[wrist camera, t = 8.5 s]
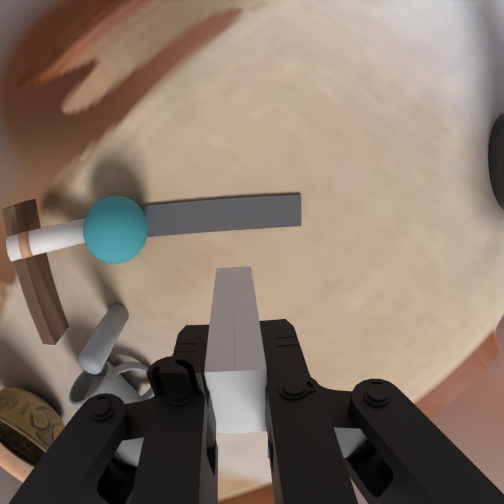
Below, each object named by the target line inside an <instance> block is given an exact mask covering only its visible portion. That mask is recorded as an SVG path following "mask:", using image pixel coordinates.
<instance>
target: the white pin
mask: <svg viewBox="0 0 504 504" xmlns="http://www.w3.org/2000/svg"><path fill="white" fill-rule="evenodd" d="M84 219H85V218H82V219H78V220H73V221H69V222H65V223H60V224H56V225H52V226H48V227H44V228H40V229H36V230H32V231H26V232H22V233H19V234H16V235H13V236H9V237H7V239H6V246H7V252H8V256H9V258H10V260H11V261H15V260H18V259H22V258H23V259H24V258H28V257H32V256H34V255H37V254H41V253H45V252H49V251H53V250H57V249H61V248H66V247H70V246H74V245H78V244H82V243H85V241H84V237H83V224H84Z"/></svg>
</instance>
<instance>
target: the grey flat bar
mask: <svg viewBox="0 0 504 504" xmlns="http://www.w3.org/2000/svg"><path fill="white" fill-rule="evenodd" d="M140 207H141V209H142V210H143V212H144V214H145V216H146V219H147V224H148V233H147V237H151V236H163V235H175V234H188V233H200V232H214V231H228V230H243V229H258V228H274V227H291V226H301V195H300V194H299V195H275V196H256V197H239V198H224V199H211V200H199V201H187V202H176V203H166V204H156V205H147V206H140Z"/></svg>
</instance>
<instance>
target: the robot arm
mask: <svg viewBox="0 0 504 504" xmlns="http://www.w3.org/2000/svg"><path fill="white" fill-rule="evenodd" d="M489 168H490V177H491V183H492V187H493V191H494V194H495V196H496V199H497V201H498V203H499V204H500V206H501V207H502V208H503V209H504V114H502V115H501V116H500V117H499V118H498V119H497V121H496V123H495V125H494V127H493V130H492V134H491V139H490V147H489ZM146 373H147V376H148V379H149V382H150V385H151V387H152V390H153V393H154V397H152V398H150V399H147V400H144V401H139V402H134V403H128V404H125V403H124V402H123V401H122V399H121V398H120V397H118V396H116V395H114V394H108V393H103V394H97V395H95V396H93V397H90V398H89V399H88V400H87V401H86V402H84V403H83V405H82V406H81V407H80V408H79V410H78V411H77V412H76V413H75V415H74V416H73V417H72V419H71V420H70V421H69V422H68V424H67V425H66V426H65V428H64V429H63V430H62V431H61V433H60V434H59V435H58V437H57V438H56V439H55V441H54V442H53V443H52V445H51V446H50V447H49V449H48V450H47V451H46V453H45V454H44V455H43V457H42V458H41V459H40V461H39V462H38V463H37V465H36V466H35V467H34V469H33V470H32V471H31V473H30V474H29V476H28V477H27V478H26V480H25V481H24V483H23V484H22V485H21V487H20V488H19V490H18V491H17V492H16V494H15V495H14V497H13V498H12V500H11V501H10V503H9V504H218V447H217V443H216V430H217V434H221V433H247V432H262V431H267V434H268V458H269V459H270V467H271V475H272V483H273V491H274V499H275V504H358V502H357V498H356V495H355V493H354V489H353V486H352V483H351V479H352V481H353V482H354V483H355V485H356V486H357V488H358V489H359V491H360V492H361V494H362V495H363V497H364V498H365V500H366V501H367V502H368V504H504V494H503V493H502V492H501V491H500V490H499V489H498V488H497V487H496V486H495V485H494V484H493V483H492V482H491V481H490V480H489V479H488V478H487V477H486V476H485V475H484V474H483V473H482V472H481V471H480V470H479V469H478V468H477V467H476V466H475V465H474V464H473V463H472V462H471V461H470V460H469V459H468V458H467V457H466V456H465V455H464V454H463V453H462V452H461V451H460V450H459V449H458V448H457V447H456V446H455V445H454V444H453V443H452V442H451V441H450V440H449V439H448V438H447V437H446V436H445V435H444V434H443V433H442V432H441V431H440V429H438V428H437V427H436V425H434V423H432V421H430V420H429V419H428V418H427V417H426V416H425V415H424V414H423V413H422V412H421V411H420V410H419V409H418V408H417V407H416V406H415V405H414V404H413V403H412V402H411V401H410V400H409V399H408V398H407V397H406V396H405V395H404V394H403V393H402V392H401V391H400V390H399V389H398V388H397V387H396V386H395V385H393V384H392V383H391V382H389V381H386V380H382V379H368V380H364V381H362V382H360V383H359V384H357V385H356V386H355V388H354V389H353V391H339V390H331V389H327V388H324V387H322V386H320V385H319V384H318V383H317V381H316V380H314V379H313V378H311V376H310V374H309V371H308V368H307V365H306V362H305V359H304V356H303V353H302V350H301V347H300V345H299V341H298V338H297V335H296V332H295V329H294V326H293V325H292V324H290V323H289V322H288V321H287V320H286V319H279V320H266V321H259V316H258V310H257V303H256V297H255V290H254V284H253V277H252V270H251V266H250V267H233V268H217V270H216V278H215V285H214V293H213V301H212V309H211V317H210V325H186V326H185V327H184V328H183V329H182V330H181V331H180V333H179V334H178V337H177V341H176V345H175V348H174V353H173V356H170V357H165V358H162V359H160V360H157V361H156V362H155V363H153V364H152V365H151V366H150V367H149V369H148V370H147V372H146ZM350 478H351V479H350Z"/></svg>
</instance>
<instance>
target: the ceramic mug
mask: <svg viewBox="0 0 504 504" xmlns="http://www.w3.org/2000/svg"><path fill="white" fill-rule="evenodd" d="M148 369H149V368H148V367H147V366H146V365H144V364H142V363H139V362H127V363H124V364H121V365H118V366H116V367H114V366H113V365H112V364H111V363H110V362H109V361H107V360H106V362H105V364H104V366H103V368H102V370H101V372H100V373H98V374H91V373H89V372H87V371H85V370H84V371H83V372H82V373H81V374H80V375H79V376H78V378H77V379H76V381H75V382H74V384H73V386H72V388H71V391H70V394H69V399H70V402H71V403H72V404H73V405H74V406H75V407H76V408H77V409H79V408H80V407H81V406H82V405H83V403H84V402H86V401H87V400H88V399H89V398H90V397H93V396H95V395H97V394H103V393H108V394H114V395H116V396H118V397H120V398H121V399H122V401H123V402H124V403H125V404H128V403H134V402H139V401H144V400H147V399H150V398H152V397H153V396H154V393H153V390H152V387H151V388H150V389H149V390H148V391H147V392H146V393H145V394H144V395H142V396H140V395H139V394H138V392H137V391H136V390H135V389H134V388H133V387H132V386H131V385H130V384H129V383H128V382H127V381H126V380H125V379H124V378H123V376H122V375H121V374H120V373H122V372H125V371H129V370H138V371H143V372H147V370H148ZM146 374H147V373H146Z"/></svg>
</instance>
